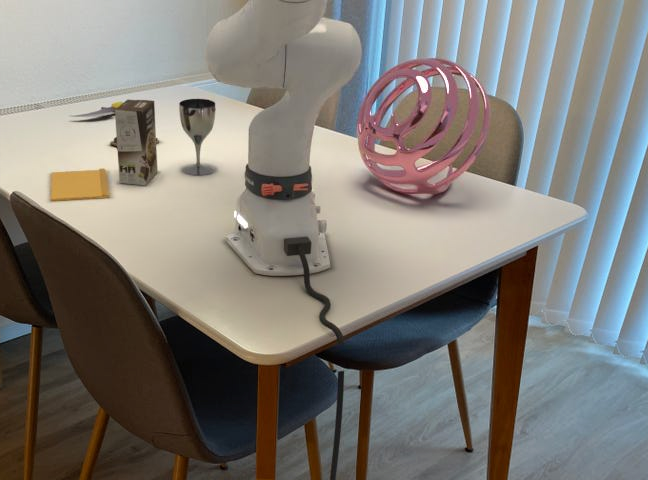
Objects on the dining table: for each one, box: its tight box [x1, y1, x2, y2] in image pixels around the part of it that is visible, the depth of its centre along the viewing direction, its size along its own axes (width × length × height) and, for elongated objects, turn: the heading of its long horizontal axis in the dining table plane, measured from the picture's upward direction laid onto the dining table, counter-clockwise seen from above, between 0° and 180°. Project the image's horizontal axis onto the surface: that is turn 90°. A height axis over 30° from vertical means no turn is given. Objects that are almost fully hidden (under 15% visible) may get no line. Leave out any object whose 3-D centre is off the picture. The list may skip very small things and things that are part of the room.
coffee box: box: [114, 99, 158, 186], centre depth 168 cm, size 9×6×16 cm
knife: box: [69, 100, 124, 118], centre depth 212 cm, size 8×3×25 cm
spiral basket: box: [356, 57, 492, 196], centre depth 164 cm, size 28×28×27 cm
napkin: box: [50, 168, 110, 202], centre depth 168 cm, size 16×12×1 cm
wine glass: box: [178, 98, 216, 176], centre depth 173 cm, size 8×8×15 cm
